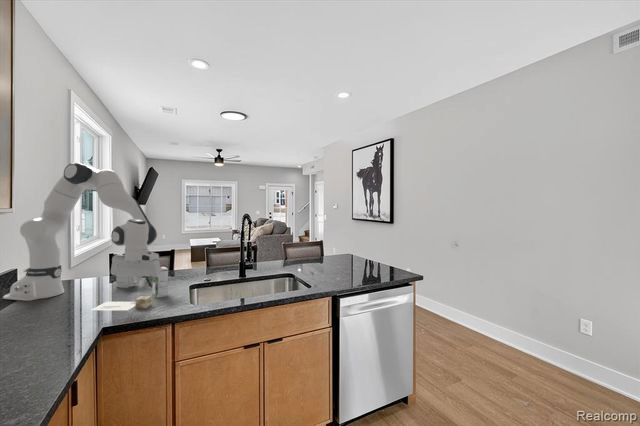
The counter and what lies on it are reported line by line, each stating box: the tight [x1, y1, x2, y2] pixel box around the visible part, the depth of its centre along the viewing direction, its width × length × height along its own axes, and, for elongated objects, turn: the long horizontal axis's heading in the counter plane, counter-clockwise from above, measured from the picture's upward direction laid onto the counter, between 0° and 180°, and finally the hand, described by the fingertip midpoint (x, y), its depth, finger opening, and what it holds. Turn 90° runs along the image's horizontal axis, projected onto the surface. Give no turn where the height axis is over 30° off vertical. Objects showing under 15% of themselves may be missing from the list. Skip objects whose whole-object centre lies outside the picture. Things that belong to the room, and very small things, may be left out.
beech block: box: [135, 295, 152, 309], centre depth 130 cm, size 4×4×4 cm
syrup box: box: [151, 266, 169, 299], centre depth 146 cm, size 6×6×14 cm
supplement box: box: [115, 275, 138, 289], centre depth 161 cm, size 7×7×13 cm
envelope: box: [90, 301, 136, 311], centre depth 130 cm, size 16×11×1 cm
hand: (135, 285), depth 130 cm, fingers closed
